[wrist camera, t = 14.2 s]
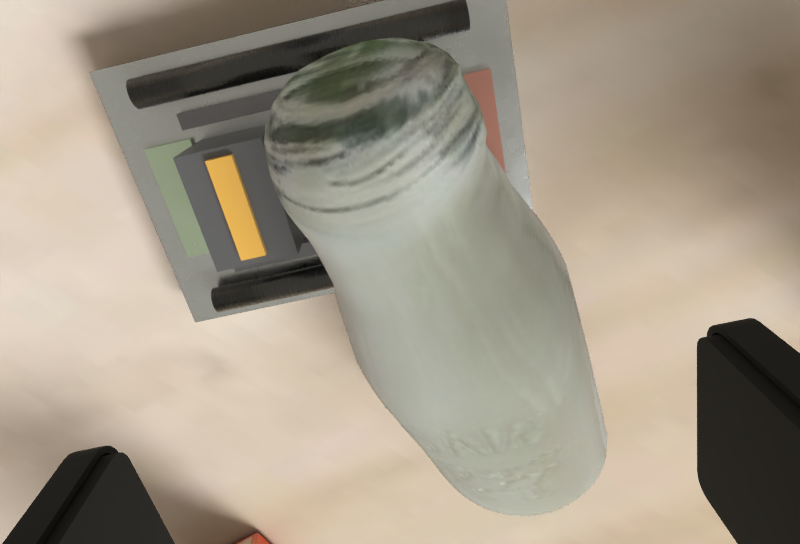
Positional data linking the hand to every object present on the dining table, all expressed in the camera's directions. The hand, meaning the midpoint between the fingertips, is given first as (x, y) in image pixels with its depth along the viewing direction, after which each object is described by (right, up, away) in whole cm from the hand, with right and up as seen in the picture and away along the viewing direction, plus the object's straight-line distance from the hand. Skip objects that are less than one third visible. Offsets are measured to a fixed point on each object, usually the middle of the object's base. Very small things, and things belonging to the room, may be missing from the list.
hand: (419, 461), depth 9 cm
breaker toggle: (-8, +7, +20) cm, 23 cm away
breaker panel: (-4, +9, +22) cm, 24 cm away
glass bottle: (+8, -9, +27) cm, 29 cm away
